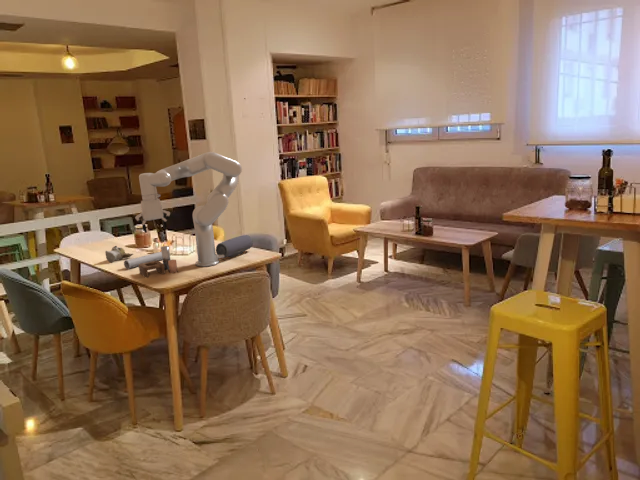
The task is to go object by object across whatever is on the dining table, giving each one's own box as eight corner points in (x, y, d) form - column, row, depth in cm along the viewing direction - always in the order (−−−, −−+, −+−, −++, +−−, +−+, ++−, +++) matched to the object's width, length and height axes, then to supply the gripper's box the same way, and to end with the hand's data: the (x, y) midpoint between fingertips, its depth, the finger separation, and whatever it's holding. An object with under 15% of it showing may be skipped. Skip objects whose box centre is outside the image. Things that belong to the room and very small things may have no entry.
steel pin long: (170, 267, 272) (167, 245, 269) (172, 268, 269) (169, 246, 266) (162, 268, 270) (159, 246, 267) (165, 270, 267) (162, 248, 264)
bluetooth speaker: (241, 249, 302) (240, 233, 300) (254, 251, 297) (253, 234, 295) (215, 259, 283) (214, 241, 281) (228, 260, 278) (227, 243, 276)
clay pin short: (176, 270, 266) (174, 259, 265) (178, 271, 263) (177, 260, 261) (168, 271, 264) (167, 260, 262) (171, 273, 261) (169, 262, 259)
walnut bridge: (158, 269, 269) (157, 260, 268) (164, 273, 261) (163, 264, 260) (139, 273, 264) (138, 264, 262) (145, 277, 255) (144, 268, 254)
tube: (162, 251, 293) (122, 261, 274) (167, 249, 290) (127, 259, 271) (165, 259, 293) (125, 270, 274) (170, 258, 290) (130, 268, 271)
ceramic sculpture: (99, 247, 288) (120, 242, 301) (100, 262, 290) (122, 257, 303) (111, 248, 283) (133, 244, 296) (113, 264, 285) (134, 258, 298)
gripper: (166, 194, 264) (171, 226, 268) (131, 199, 257) (136, 232, 261) (168, 196, 258) (173, 228, 262) (133, 200, 250) (138, 234, 254)
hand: (155, 230), depth 261 cm, fingers open, 9 cm apart
